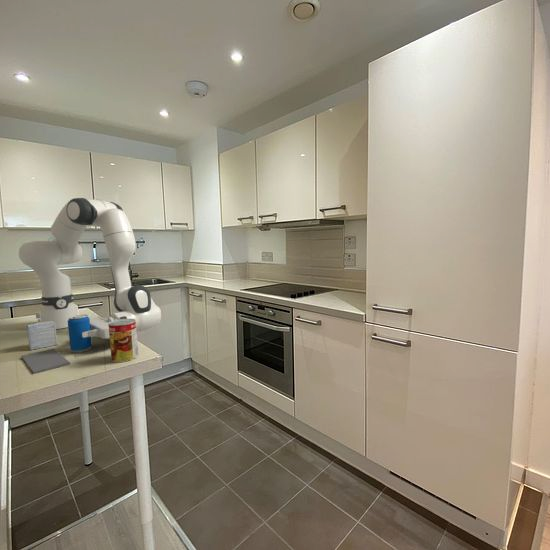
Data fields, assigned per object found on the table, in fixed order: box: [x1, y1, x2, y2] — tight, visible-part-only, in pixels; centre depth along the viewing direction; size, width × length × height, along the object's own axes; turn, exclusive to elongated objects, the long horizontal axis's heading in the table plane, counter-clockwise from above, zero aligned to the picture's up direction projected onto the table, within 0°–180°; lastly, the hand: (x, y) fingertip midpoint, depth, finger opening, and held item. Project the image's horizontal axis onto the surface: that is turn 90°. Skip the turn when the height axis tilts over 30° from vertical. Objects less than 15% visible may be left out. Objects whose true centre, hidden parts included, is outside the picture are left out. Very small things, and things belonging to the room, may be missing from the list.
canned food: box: [108, 319, 139, 363], centre depth 100 cm, size 8×8×12 cm
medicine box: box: [26, 321, 58, 351], centre depth 114 cm, size 8×4×9 cm, turn 134°
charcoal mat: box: [21, 348, 71, 374], centre depth 100 cm, size 20×9×1 cm, turn 47°
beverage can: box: [67, 314, 93, 353], centre depth 108 cm, size 6×6×12 cm
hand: (77, 332), depth 108 cm, fingers open, 8 cm apart
